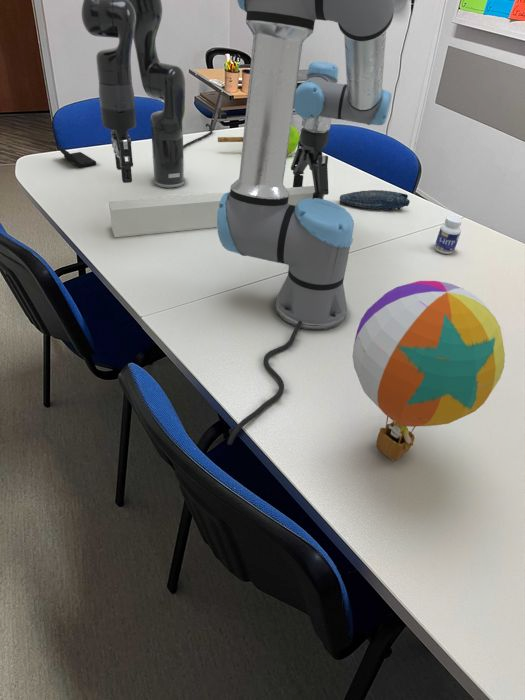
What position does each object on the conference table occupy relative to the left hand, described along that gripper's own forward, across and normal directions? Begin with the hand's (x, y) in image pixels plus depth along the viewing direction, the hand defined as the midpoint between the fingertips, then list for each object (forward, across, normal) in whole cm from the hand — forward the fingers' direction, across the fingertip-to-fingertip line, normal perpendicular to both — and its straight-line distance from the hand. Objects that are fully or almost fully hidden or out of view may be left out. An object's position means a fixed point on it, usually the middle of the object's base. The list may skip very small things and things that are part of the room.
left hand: (124, 175), depth 126 cm
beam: (+15, 0, +25) cm, 29 cm away
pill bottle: (+15, +29, +79) cm, 85 cm away
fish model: (+15, -1, +74) cm, 76 cm away
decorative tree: (+15, -52, +56) cm, 78 cm away
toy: (+15, +86, +26) cm, 91 cm away
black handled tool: (+15, -53, -8) cm, 56 cm away
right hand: (+12, 0, +50) cm, 52 cm away
